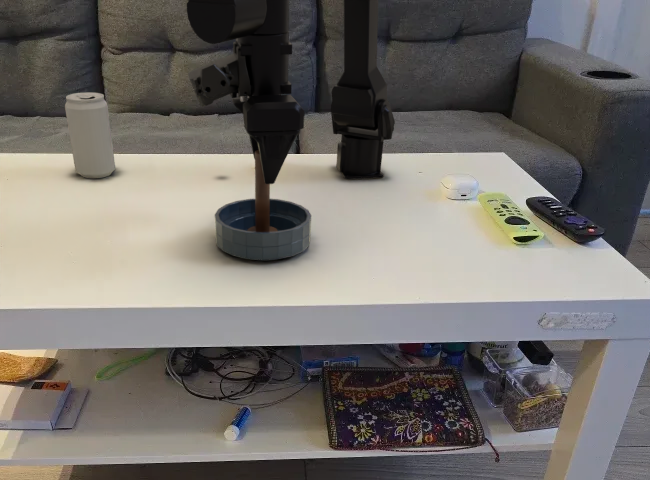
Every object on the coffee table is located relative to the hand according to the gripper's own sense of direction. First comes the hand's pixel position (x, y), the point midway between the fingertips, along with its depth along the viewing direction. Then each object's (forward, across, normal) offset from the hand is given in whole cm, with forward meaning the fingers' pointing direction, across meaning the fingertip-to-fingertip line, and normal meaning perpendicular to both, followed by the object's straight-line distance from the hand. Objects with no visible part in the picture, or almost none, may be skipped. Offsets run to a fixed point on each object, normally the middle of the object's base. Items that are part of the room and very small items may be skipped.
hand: (263, 171), depth 83 cm
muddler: (+8, +2, -1) cm, 8 cm away
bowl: (+9, +2, 0) cm, 9 cm away
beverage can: (+9, -30, -23) cm, 39 cm away
